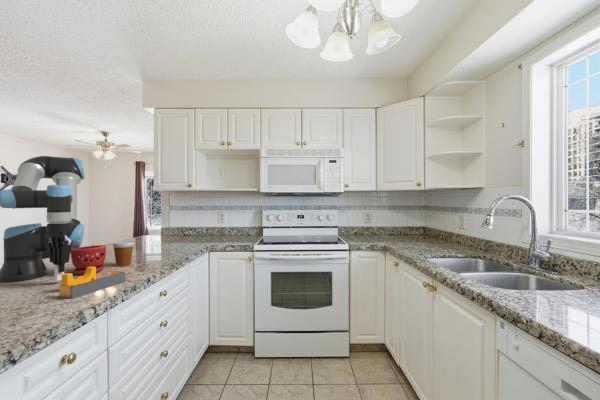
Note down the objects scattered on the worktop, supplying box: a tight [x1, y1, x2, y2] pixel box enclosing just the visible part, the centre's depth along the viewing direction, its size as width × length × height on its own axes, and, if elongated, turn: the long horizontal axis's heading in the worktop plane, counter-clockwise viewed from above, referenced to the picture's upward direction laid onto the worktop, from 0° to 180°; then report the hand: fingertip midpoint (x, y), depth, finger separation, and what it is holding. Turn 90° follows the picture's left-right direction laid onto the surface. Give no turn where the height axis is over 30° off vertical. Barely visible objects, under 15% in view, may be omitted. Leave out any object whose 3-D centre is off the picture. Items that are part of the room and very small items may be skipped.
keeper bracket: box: [59, 270, 126, 299], centre depth 105 cm, size 7×20×4 cm, turn 162°
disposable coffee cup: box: [112, 240, 135, 268], centre depth 141 cm, size 10×10×12 cm
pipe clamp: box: [61, 267, 97, 286], centre depth 108 cm, size 12×4×6 cm, turn 171°
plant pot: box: [70, 244, 107, 275], centre depth 128 cm, size 13×13×12 cm
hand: (59, 279), depth 111 cm, fingers closed
